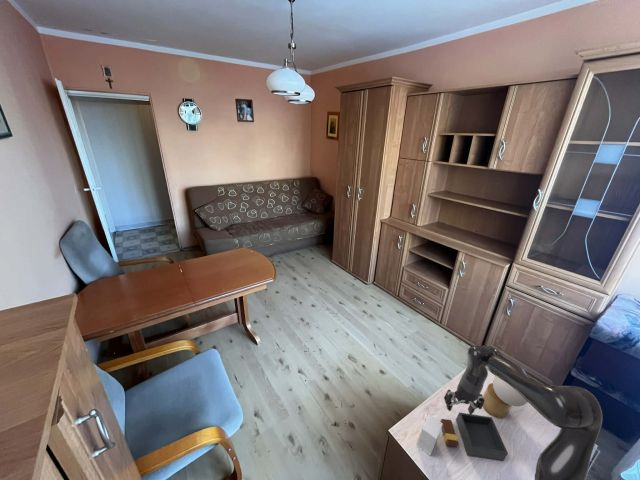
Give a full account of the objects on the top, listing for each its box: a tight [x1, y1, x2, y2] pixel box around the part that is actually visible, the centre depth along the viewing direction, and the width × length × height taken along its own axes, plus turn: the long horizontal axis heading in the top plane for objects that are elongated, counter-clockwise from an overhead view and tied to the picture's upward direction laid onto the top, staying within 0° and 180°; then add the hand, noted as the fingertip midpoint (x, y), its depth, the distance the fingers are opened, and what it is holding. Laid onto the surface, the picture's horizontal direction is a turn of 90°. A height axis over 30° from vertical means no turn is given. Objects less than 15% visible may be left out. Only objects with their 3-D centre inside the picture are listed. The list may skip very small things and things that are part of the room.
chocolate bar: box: [439, 418, 459, 449], centre depth 119 cm, size 10×5×3 cm, turn 173°
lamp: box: [482, 375, 528, 419], centre depth 125 cm, size 15×14×25 cm
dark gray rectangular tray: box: [455, 412, 509, 462], centre depth 117 cm, size 15×15×6 cm
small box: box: [415, 413, 443, 457], centre depth 113 cm, size 8×6×13 cm
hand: (459, 410), depth 111 cm, fingers open, 8 cm apart
